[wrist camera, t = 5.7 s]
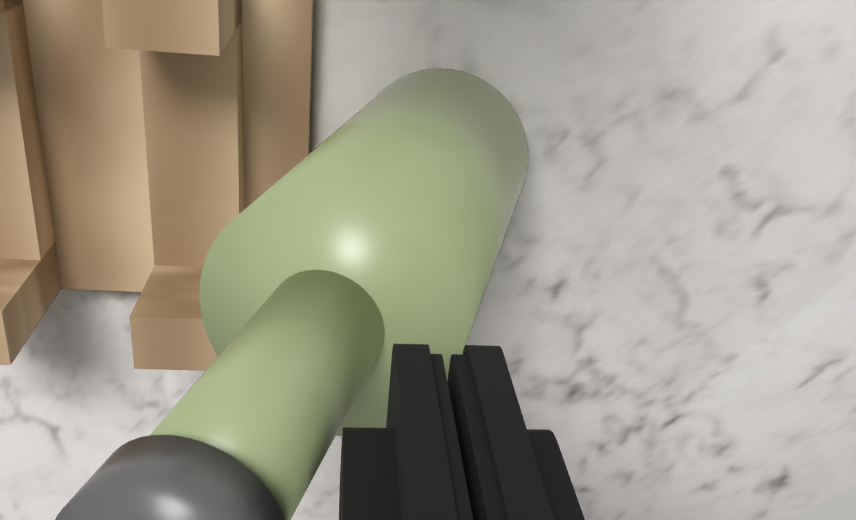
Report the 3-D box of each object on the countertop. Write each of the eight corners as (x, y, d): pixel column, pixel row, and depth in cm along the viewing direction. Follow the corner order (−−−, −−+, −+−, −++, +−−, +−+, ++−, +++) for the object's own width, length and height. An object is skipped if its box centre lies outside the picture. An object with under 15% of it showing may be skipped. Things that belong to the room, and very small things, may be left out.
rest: (314, -42, 21) (303, -14, 17) (305, 286, 26) (295, 373, 22) (-172, -85, 20) (-315, -66, 16) (-91, 269, 24) (-186, 359, 20)
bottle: (541, 82, 22) (370, 461, 8) (515, 247, 24) (346, 770, 10) (365, 56, 23) (-78, 356, 9) (356, 217, 25) (-7, 664, 11)
